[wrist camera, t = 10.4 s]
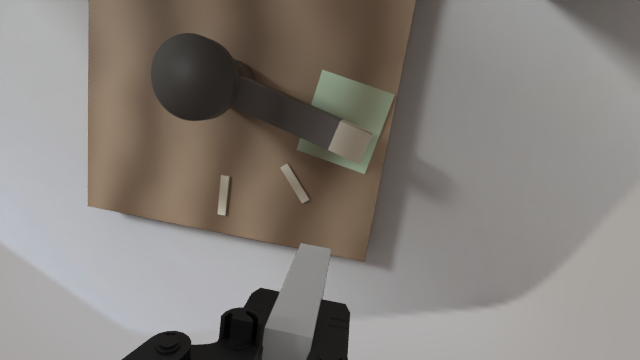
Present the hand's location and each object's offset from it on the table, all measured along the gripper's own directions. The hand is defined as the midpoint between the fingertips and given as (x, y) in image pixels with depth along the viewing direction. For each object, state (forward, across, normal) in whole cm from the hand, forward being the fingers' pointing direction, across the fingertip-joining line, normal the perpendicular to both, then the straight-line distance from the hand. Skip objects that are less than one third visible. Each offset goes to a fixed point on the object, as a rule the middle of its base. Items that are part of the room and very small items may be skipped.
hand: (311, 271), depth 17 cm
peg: (+9, -4, +7) cm, 12 cm away
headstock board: (+11, -8, +7) cm, 15 cm away
